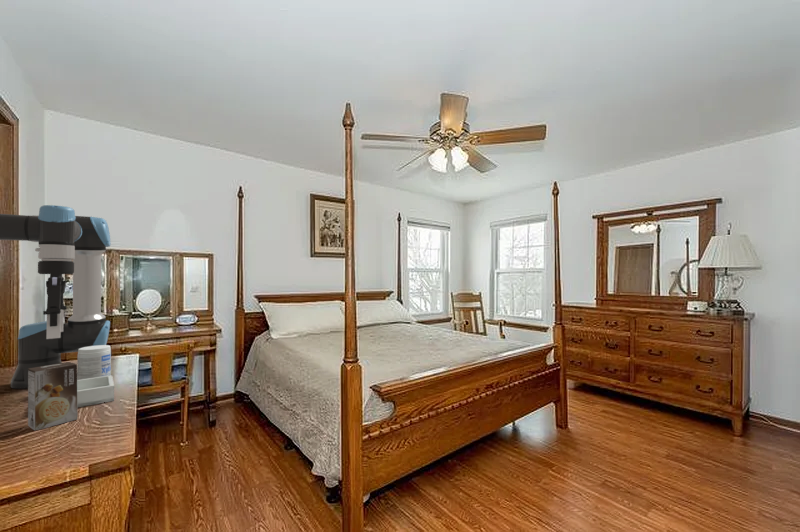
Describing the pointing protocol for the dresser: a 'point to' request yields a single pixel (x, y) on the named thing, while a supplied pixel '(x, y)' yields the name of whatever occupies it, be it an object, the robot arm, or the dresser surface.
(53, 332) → the robot arm
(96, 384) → the tote
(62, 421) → the coffee box
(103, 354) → the supplement tub
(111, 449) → the dresser surface
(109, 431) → the dresser surface
